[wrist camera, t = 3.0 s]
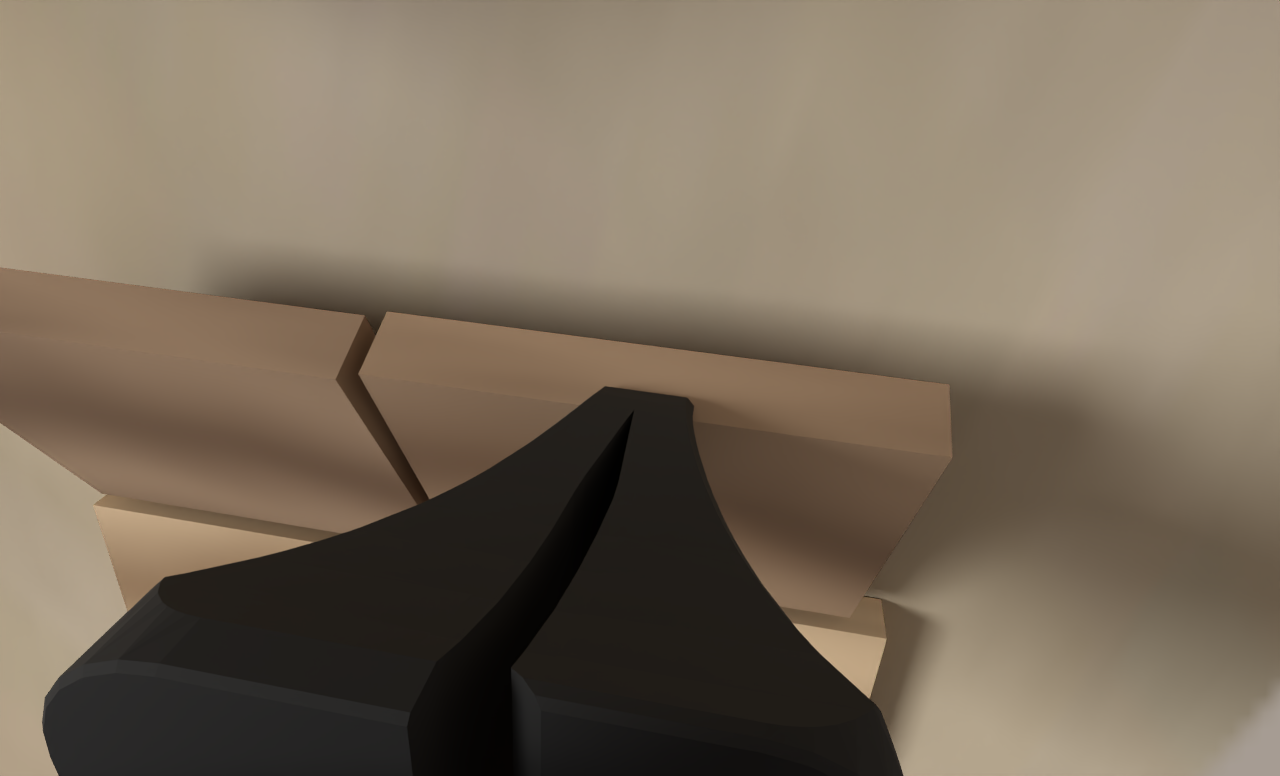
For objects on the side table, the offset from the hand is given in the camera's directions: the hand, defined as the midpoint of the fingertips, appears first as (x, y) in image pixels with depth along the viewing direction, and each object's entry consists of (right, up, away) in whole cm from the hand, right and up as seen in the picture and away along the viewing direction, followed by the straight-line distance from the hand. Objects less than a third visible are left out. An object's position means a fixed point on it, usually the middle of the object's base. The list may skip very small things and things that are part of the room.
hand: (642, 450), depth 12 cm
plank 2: (0, 0, +3) cm, 3 cm away
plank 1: (-8, +1, +4) cm, 9 cm away
